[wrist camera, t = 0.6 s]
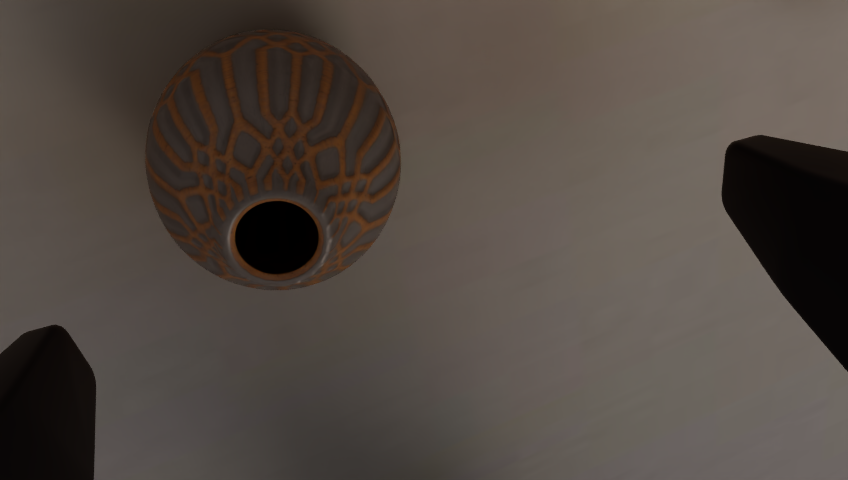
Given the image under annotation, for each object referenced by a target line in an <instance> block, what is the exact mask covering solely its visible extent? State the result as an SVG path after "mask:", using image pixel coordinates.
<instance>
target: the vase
mask: <svg viewBox="0 0 848 480" xmlns="http://www.w3.org/2000/svg"><path fill="white" fill-rule="evenodd" d="M145 164H146V174H147V180H148V185H149V189H150V193H151V196H152V199H153V202H154V205H155V208H156V210H157V212H158V215H159V217H160V219H161V220H162V222H163V224H164V226H165V227H166V229H167V231H168V232H169V234H170V235H171V237H172V238H173V239H174V241H175V242H176V243H177V244H178V245H179V246H180V248H181V249H182V250H183V251H184V252H185V253H186V254H187V255H188V256H189V257H191V258H192V259H193V260H194V261H195V262H196V263H198V264H199V265H200V266H202V267H203V268H205V269H206V270H208V271H209V272H211V273H213V274H215V275H217V276H218V277H220V278H223V279H225V280H227V281H230V282H233V283H236V284H239V285H243V286H246V287H251V288H256V289H264V290H288V289H296V288H301V287H306V286H309V285H313V284H316V283H319V282H322V281H324V280H327V279H329V278H331V277H333V276H335V275H337V274H338V273H340V272H342V271H343V270H345V269H346V268H348V267H349V266H351V265H352V264H353V263H354V262H356V261H357V260H358V259H359V258H360V257H361V256H362V255H363V254H364V253H365V252H366V251H367V250H368V249H369V248H370V247H371V245H372V244H373V243H374V242H375V240H376V239H377V237H378V236H379V234H380V233H381V231H382V229H383V228H384V226H385V224H386V222H387V220H388V218H389V216H390V213H391V211H392V208H393V205H394V202H395V199H396V195H397V191H398V186H399V181H400V172H401V156H400V144H399V138H398V134H397V129H396V126H395V123H394V120H393V117H392V115H391V112H390V110H389V107H388V105H387V103H386V101H385V99H384V98H383V96H382V95H381V93H380V91H379V90H378V88H377V87H376V85H375V84H374V82H373V81H372V80H371V79H370V77H369V76H368V75H367V74H366V73H365V72H364V71H363V70H362V69H361V68H360V67H359V66H358V65H357V64H356V63H355V62H354V61H353V60H352V59H351V58H349V57H348V56H347V55H346V54H344V53H343V52H341V51H340V50H338V49H337V48H335V47H333V46H332V45H330V44H328V43H326V42H324V41H322V40H319V39H317V38H314V37H311V36H308V35H305V34H301V33H297V32H292V31H286V30H254V31H248V32H243V33H239V34H235V35H232V36H229V37H226V38H224V39H221V40H219V41H217V42H215V43H213V44H211V45H209V46H208V47H206V48H205V49H203V50H202V51H200V52H199V53H198V54H196V55H195V56H194V57H192V58H191V59H190V60H189V61H188V62H187V63H185V64H184V65H183V66H182V67H181V68H180V70H179V71H178V72H177V73H176V74H175V75H174V77H173V78H172V79H171V81H170V82H169V83H168V85H167V86H166V88H165V89H164V91H163V93H162V94H161V96H160V98H159V100H158V102H157V104H156V107H155V109H154V112H153V114H152V117H151V120H150V124H149V127H148V132H147V139H146V150H145Z"/></svg>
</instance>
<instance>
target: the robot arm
mask: <svg viewBox="0 0 848 480" xmlns="http://www.w3.org/2000/svg"><path fill="white" fill-rule="evenodd" d="M722 202H723V205H724V208H725V210H726V212H727V214H728V215H729V217H730V218H731V220H732V221H733V223H734V224H735V226H736V227H737V229H738V230H739V231H740V233H741V234H742V236H743V237H744V239H745V240H746V242H747V243H748V245H749V246H750V248H751V249H752V251H753V252H754V254H755V255H756V257H757V258H758V260H759V261H760V263H761V264H762V266H763V267H764V269H765V270H766V272H767V273H768V275H769V276H770V278H771V279H772V281H773V282H774V283H775V285H776V286H777V287H778V289H779V290H780V292H781V293H782V294H783V296H784V297H785V298H786V299H787V301H788V302H789V303H790V304H791V306H792V307H793V308H794V309H795V310H796V311H797V313H798V314H799V315H800V316H801V317H802V319H803V320H804V321H805V322H806V323H807V324H808V326H809V327H810V328H811V329H812V330H813V331H814V333H815V334H816V335H817V336H818V337H819V339H820V340H821V341H822V342H823V343H824V344H825V346H826V347H827V348H828V349H829V350H830V351H831V353H832V354H833V355H834V356H835V357H836V359H837V360H838V361H839V362H840V363H841V364H842V366H843V367H844V368H845V369H846V370H847V371H848V152H846V151H841V150H836V149H831V148H826V147H821V146H815V145H810V144H805V143H800V142H795V141H790V140H784V139H779V138H774V137H769V136H764V135H757V136H752V137H749V138H745V139H741V140H738V141H734V142H732V143H731V144H730V145H729V146H728V148H727V150H726V154H725V163H724V173H723V184H722ZM95 414H96V380H95V376H94V373H93V371H92V368H91V367H90V365H89V364H88V362H87V361H86V359H85V357H84V356H83V354H82V353H81V351H80V350H79V348H78V347H77V345H76V344H75V342H74V341H73V339H72V338H71V336H70V335H69V333H68V332H67V331H66V330H65V329H64V328H63V327H62V326H58V325H51V326H47V327H43V328H39V329H36V330H32V331H28V332H26V333H24V334H22V335H21V336H20V337H19V338H18V339H17V340H15V341H14V342H13V343H12V344H11V345H10V346H9V347H8V348H7V349H5V350H4V351H3V352H2V353H1V354H0V480H94V454H95Z"/></svg>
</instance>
